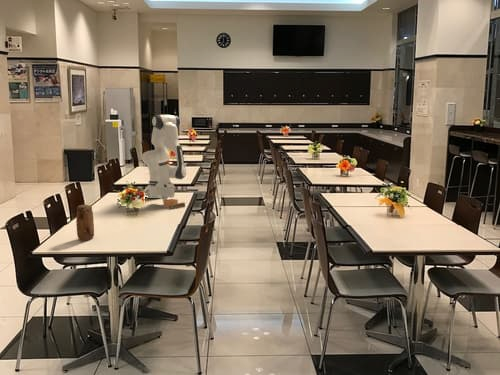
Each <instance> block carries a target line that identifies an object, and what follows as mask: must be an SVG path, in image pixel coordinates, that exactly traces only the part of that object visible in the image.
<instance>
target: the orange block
mask: <svg viewBox="0 0 500 375" xmlns="http://www.w3.org/2000/svg"><path fill="white" fill-rule="evenodd" d="M162 203H163V208H167V207H168V209H169V205H172V204H177V203H179V201H178V199H177V198H167V200H164V201H163V200H162Z"/></svg>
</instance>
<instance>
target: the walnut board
mask: <svg viewBox="0 0 500 375" xmlns="http://www.w3.org/2000/svg"><path fill="white" fill-rule="evenodd" d="M180 207H181V208H185V207H186V202H178V203H177V204H172V205H169V208H168V209H170V210H175V208H176V209H180Z"/></svg>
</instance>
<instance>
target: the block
mask: <svg viewBox="0 0 500 375" xmlns="http://www.w3.org/2000/svg"><path fill="white" fill-rule="evenodd" d="M76 208H77V209H76V216H75V218H76V234H77V238H78V240H79V241H80V242H86V241H87V242H88V241H90V240H92V239H93V238H94V236H95V224H94V212H93V206H92V205H91V204H89V205H88V204H80V205H78V206H77V207H76Z"/></svg>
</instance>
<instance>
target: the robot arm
mask: <svg viewBox="0 0 500 375" xmlns="http://www.w3.org/2000/svg"><path fill="white" fill-rule="evenodd" d="M151 123H152V126H153V128H152V132H151V133H152V134H151V144H152V145H153V146H154V149H152V150H147V151H145V152H143V153H142V155H141V160H142V162H143V164H145V165H146V166H147V169H148V171H149V180H148V185H147V186H146V187H145V188H144V190H143V193H144V192H145V195H146V196H148V197H147V198H161V200H162V202H163V201H164V200H168V199H172V198H174V197H175V184H174V183H172V182H171V179H175V180H183V179H184V178H186V176H187V169H186V166H185V159H184V152H183V148H182V146H181V145H180V142H179V131H178V130H179V129H178V128H179V126H180V125H181V119H180V117H179V115H175V114H174V115H171V114H155V115H153V116H152V118H151ZM169 151H170V152H172V153H174V154H175V157H176V164H177V165H170V164H169V163H168V161H169V160H170V157H171V156H170V152H169ZM147 198H146V199H147Z"/></svg>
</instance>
